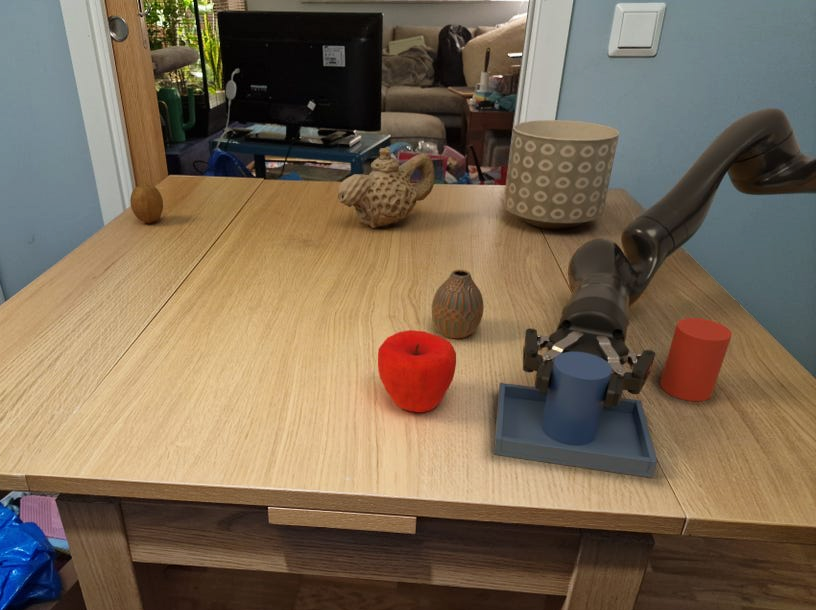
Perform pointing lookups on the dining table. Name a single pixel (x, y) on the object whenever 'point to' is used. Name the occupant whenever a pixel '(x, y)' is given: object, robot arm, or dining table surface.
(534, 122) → the planter
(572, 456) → the blue tray
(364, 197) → the teapot
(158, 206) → the fruit
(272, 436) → the dining table surface
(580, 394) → the blue canister
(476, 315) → the vase
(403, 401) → the apple
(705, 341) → the red canister
